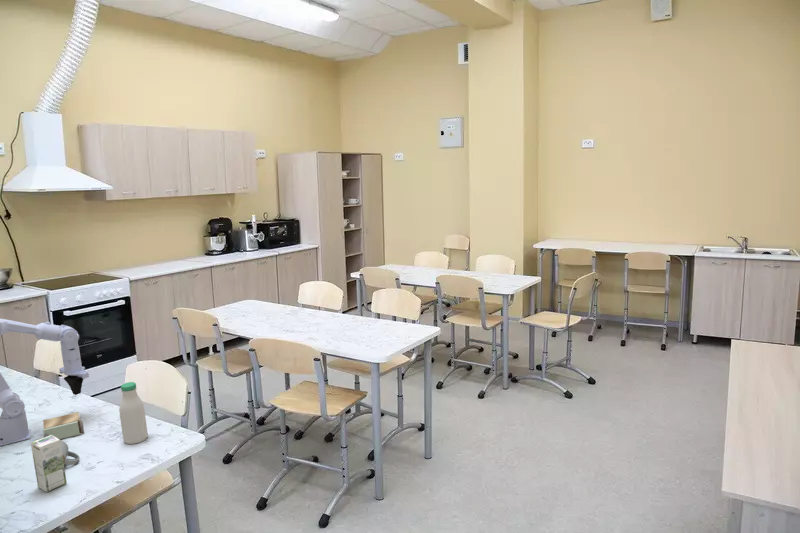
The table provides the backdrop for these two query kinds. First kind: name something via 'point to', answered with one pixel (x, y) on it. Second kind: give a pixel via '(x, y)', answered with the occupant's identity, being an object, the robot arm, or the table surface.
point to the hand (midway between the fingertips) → (77, 393)
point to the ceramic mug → (68, 454)
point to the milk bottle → (132, 415)
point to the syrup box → (48, 463)
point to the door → (63, 430)
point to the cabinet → (64, 421)
